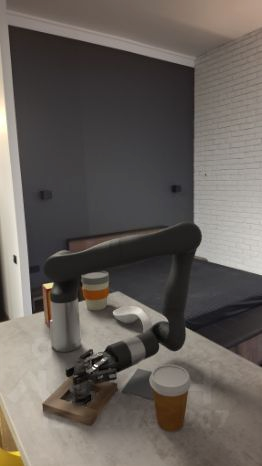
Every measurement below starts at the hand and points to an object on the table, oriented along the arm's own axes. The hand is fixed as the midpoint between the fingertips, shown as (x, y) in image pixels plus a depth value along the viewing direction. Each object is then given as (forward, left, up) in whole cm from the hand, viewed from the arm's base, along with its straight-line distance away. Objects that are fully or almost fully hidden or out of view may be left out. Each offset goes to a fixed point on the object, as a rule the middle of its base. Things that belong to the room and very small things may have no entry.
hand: (69, 377), depth 81 cm
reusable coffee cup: (-26, +58, -8) cm, 65 cm away
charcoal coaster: (+16, +14, -8) cm, 23 cm away
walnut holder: (+2, +2, -8) cm, 8 cm away
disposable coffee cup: (+25, +4, -8) cm, 27 cm away
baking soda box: (-33, +39, -8) cm, 52 cm away
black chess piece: (+1, +3, -8) cm, 8 cm away
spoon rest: (-3, +47, -8) cm, 48 cm away
